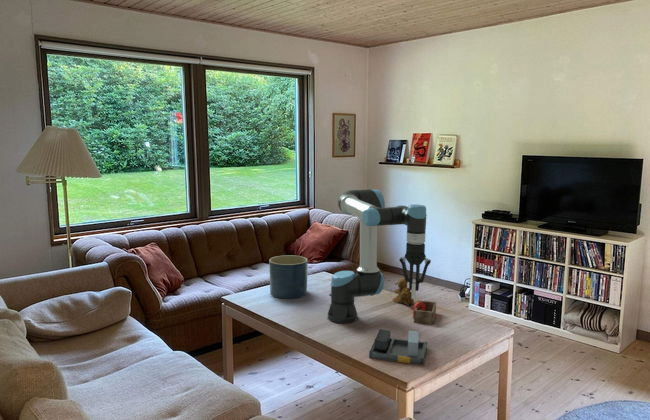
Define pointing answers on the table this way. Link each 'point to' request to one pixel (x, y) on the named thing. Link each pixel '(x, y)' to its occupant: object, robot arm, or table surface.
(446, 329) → the table surface
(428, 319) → the open wooden box
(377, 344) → the grey flat rectangular tray
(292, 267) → the planter
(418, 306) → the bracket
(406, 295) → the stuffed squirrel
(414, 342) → the pale blue upright block
